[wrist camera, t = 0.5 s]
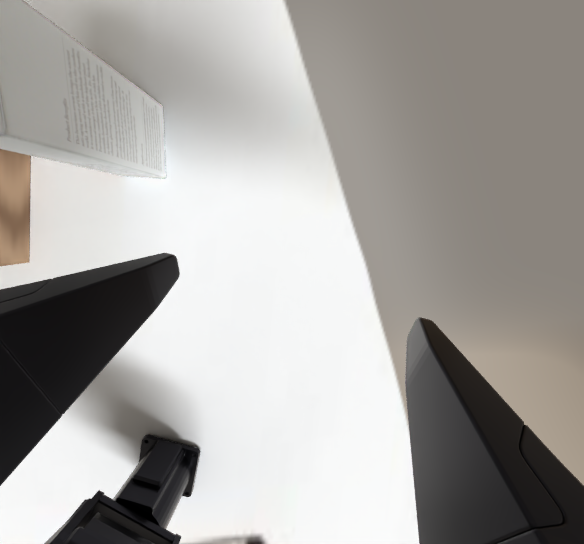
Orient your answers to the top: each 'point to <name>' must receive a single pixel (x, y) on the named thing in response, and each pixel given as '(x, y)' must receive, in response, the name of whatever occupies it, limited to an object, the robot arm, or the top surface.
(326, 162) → the top surface
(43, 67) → the skincare box
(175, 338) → the top surface
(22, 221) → the walnut tray
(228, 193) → the top surface
